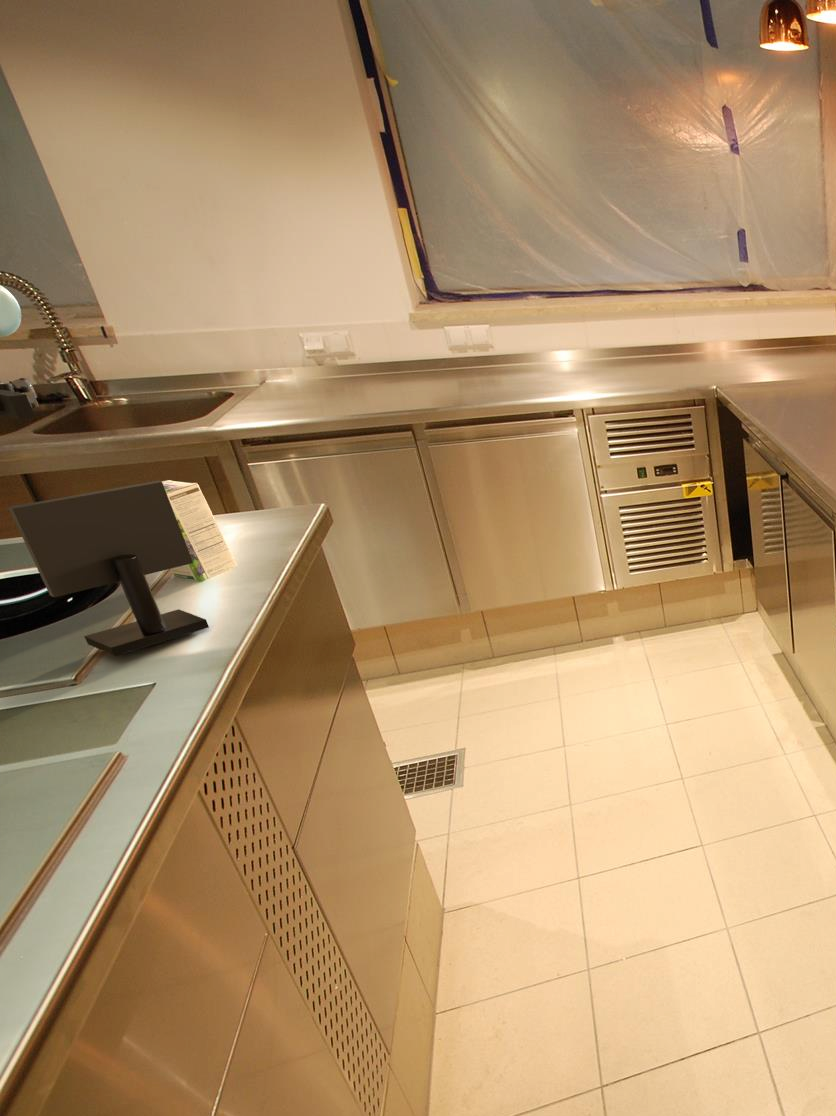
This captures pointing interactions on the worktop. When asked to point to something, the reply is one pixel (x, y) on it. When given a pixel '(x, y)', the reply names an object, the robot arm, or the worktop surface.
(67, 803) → the worktop surface
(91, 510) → the monitor screen
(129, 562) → the monitor stand
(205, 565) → the syrup box
